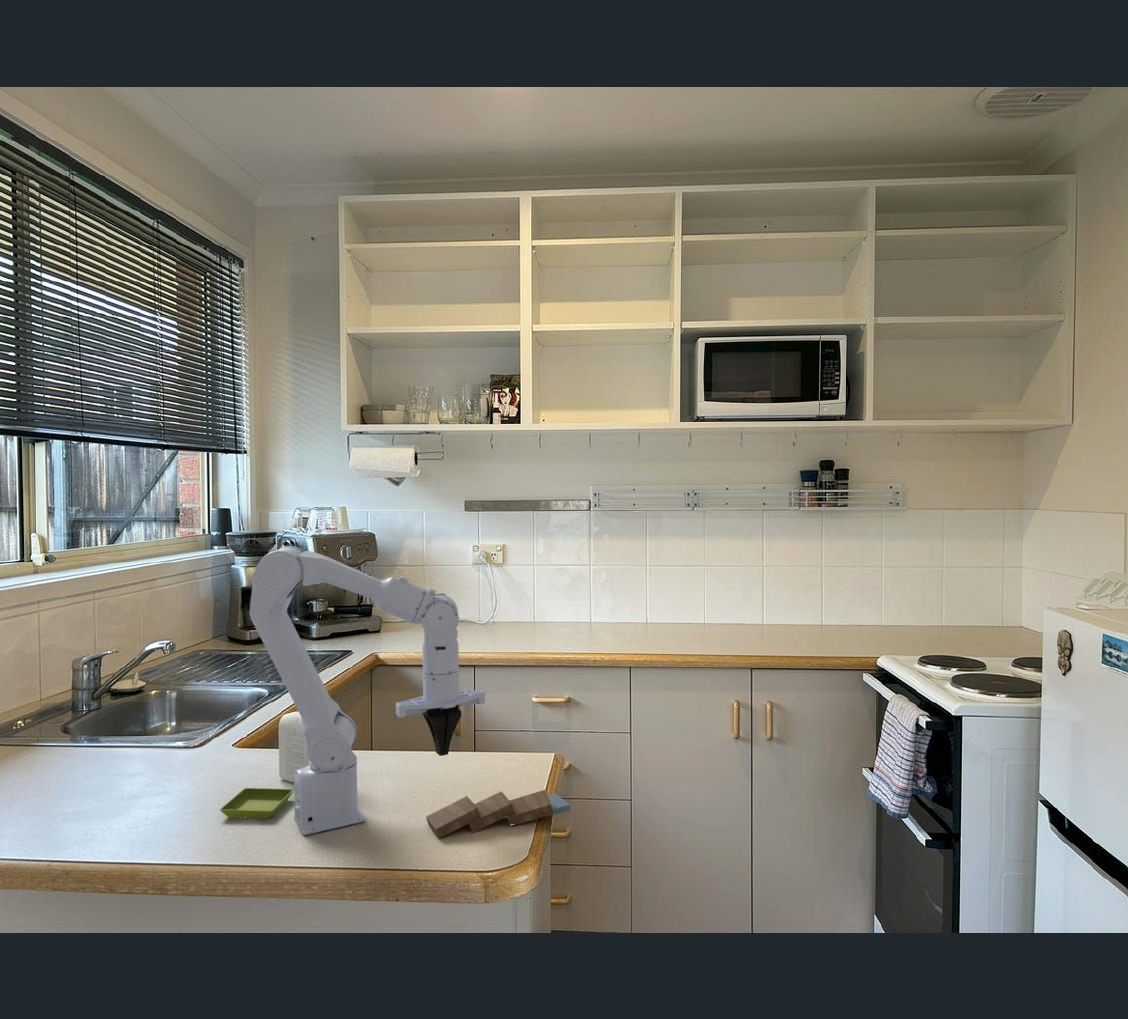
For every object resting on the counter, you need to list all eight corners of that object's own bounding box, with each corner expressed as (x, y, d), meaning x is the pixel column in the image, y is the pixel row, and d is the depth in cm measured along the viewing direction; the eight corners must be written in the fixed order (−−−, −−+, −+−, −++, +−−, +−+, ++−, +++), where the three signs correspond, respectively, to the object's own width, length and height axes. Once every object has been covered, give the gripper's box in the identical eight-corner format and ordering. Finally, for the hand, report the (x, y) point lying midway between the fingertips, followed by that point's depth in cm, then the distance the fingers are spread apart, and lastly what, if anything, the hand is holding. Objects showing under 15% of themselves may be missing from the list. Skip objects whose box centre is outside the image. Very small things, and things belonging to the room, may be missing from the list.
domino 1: (435, 829, 113) (477, 807, 116) (425, 816, 118) (466, 796, 121) (438, 838, 114) (480, 816, 117) (428, 825, 118) (469, 804, 121)
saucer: (295, 800, 129) (294, 788, 129) (272, 824, 120) (271, 811, 120) (245, 799, 129) (244, 787, 129) (218, 822, 121) (218, 809, 120)
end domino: (531, 813, 120) (570, 804, 123) (518, 802, 125) (556, 793, 128) (531, 823, 120) (570, 814, 123) (518, 811, 125) (556, 803, 128)
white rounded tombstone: (334, 782, 135) (333, 714, 135) (316, 791, 132) (314, 720, 131) (294, 771, 140) (293, 705, 140) (275, 779, 137) (274, 711, 136)
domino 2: (469, 823, 116) (511, 803, 118) (461, 810, 120) (501, 791, 123) (472, 832, 116) (514, 812, 118) (464, 819, 120) (504, 800, 123)
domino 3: (507, 817, 117) (550, 804, 119) (503, 802, 122) (545, 789, 124) (509, 826, 118) (553, 813, 119) (505, 811, 123) (547, 798, 124)
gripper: (405, 682, 116) (406, 770, 116) (492, 670, 123) (493, 752, 123) (391, 672, 122) (392, 755, 122) (475, 661, 129) (476, 739, 129)
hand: (442, 753), depth 123 cm, fingers closed
